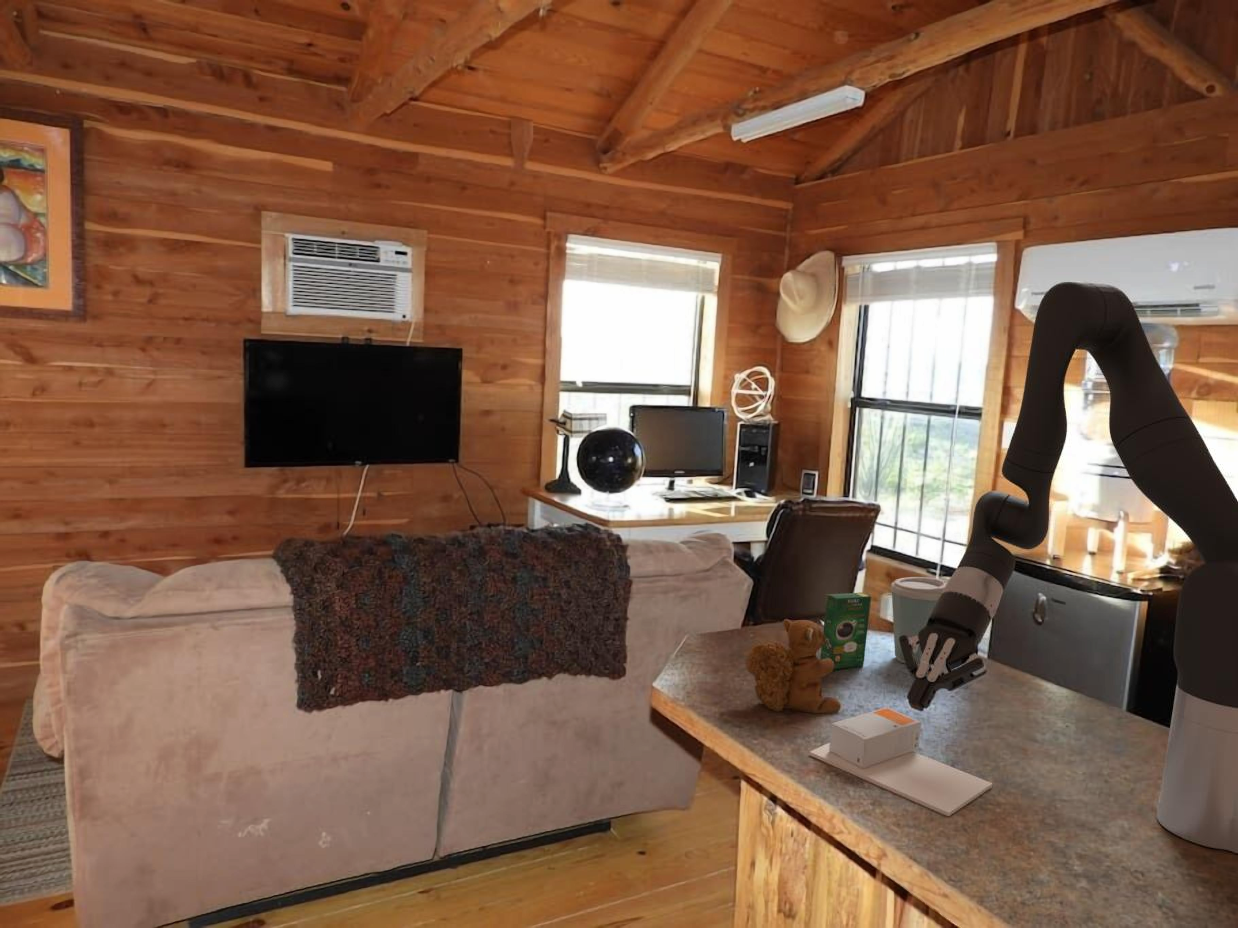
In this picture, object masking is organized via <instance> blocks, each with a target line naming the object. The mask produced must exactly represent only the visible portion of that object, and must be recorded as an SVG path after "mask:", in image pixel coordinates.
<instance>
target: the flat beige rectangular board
mask: <svg viewBox="0 0 1238 928" xmlns="http://www.w3.org/2000/svg"><path fill="white" fill-rule="evenodd" d="M829 746H830V742H827V743H825V744H823V745H821V746H819V747H817V748H815V749H812V750H811V751H809V756H810V757H813V758H814V759H818V760H820V761H822V762H824V763H827V764H828V765H830V766H834V767H835V768H838V769H839V770H842V771H845V772H847V773H848V774H851V775H854V776H855V777H858V778H860V779H863V780H864V781H867V782H869V783H872V784H874V785H876V786H878V787H880V788H883V789H886V790H888V791H889V792H892V793H894V794H896V795H899V796H901V797H903V798H906V799H908V800H910V801H912V802H915V803H917V804H919V805H922V806H923V807H926V808H928V809H930V810H932V811H935V812H936V813H940V814H942V815H944V816H946V817H950V816H951V815H953V814H955V813H956V812H957V811H959V810H961V809H962V808H963V807H965V806H966V805H968V804H969V803H971V802H972V801H974V800H975V799H977V798H978V797H980V796H981V795H983V794H984V793H986V792H987V791H989V790H990V789H992V788H993V783H992V782H990V781H987V780H985V779H983V778H980V777H979V776H975V775H973V774H970V773H967V772H965V771H962V770H959V769H957V768H954V767H953V766H949V765H947V764H946V763H942V762H940V761H938V760H935V759H933V758H930V757H927V756H926V755H923V754H921V753H917V752H915V751H913V752H910V753H907V754H904V755H901V756H898V757H895V758H892V759H889V760H886V761H884V762H881V763H878V764H875V765H872V766H869V767H866V768H861V767H859V766H857V765H855V764H853V763H851V762H849V761H846V760H844V759H843V758H841V757H840V756H838V755H836V754H834V753H832V752H830V751H829Z"/></svg>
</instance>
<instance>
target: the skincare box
mask: <svg viewBox="0 0 1238 928" xmlns="http://www.w3.org/2000/svg"><path fill="white" fill-rule="evenodd" d="M921 727H922V722H921V721H919V720H918V719H915V718H912V717H911V716H908V715H906V714H903V713H901V712H898V711H897V710H895V709H893V708H890V707H888V706H887V707H884V708H880V709H876V710H873V711H870V712H866V713H862V714H858V715H856V716H852V717H848V718H846V719H842V720H839V721H836V722H835V721H834V722H832V723H831V728H830V737H829V738H830V739H829V743H830V746H829V751H830V752H832V753H834V754H836V755H838V756H840V757H841V758H843V759H844V760H846V761H849V762H851V763H853V764H855V765H857V766H859V767H861V768H866V767H869V766H872V765H875V764H878V763H881V762H884V761H886V760H889V759H892V758H895V757H898V756H901V755H904V754H907V753H910V752H915V751H919V750H920V749H919V747H920V740H921V739H920V737H921V729H922V728H921Z"/></svg>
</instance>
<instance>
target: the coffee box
mask: <svg viewBox="0 0 1238 928" xmlns="http://www.w3.org/2000/svg"><path fill="white" fill-rule="evenodd" d="M826 595H827V596H826V602H825V603H826V604H825V612H824V613H825V614H824V622H823V628H822V630H823V632H824V636H825V637H826V638H827V639H828V641H829V643H830V645H831V647H829V644H828V641H827V640H826V641H827V644H828V647H829V649H827V645H826V643H825V640H824V644H823V645H822V647H821V648H820V657H819V660H823V659H826V658H830V659H831V660H832V661H833V662H834V668H833V670H834V671H835V670H839V669H841V670H842V669H849V668H858V667H864V662H865V656H866V655H865V653H866V644H867V643H866V642H867V635H868V626H869V618H870V611H871V601H872V595H869V594H867V593H864V592H851V593H850V592H849V593H848V592H847V593H831V594H830V593H829V594H826Z"/></svg>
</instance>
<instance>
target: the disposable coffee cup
mask: <svg viewBox="0 0 1238 928" xmlns="http://www.w3.org/2000/svg"><path fill="white" fill-rule="evenodd" d="M947 582H948V581H946V580H942V579H941V578H934V577H923V576H910V577H901V578H900V577H899V578H898V579H895V580H894V581H892V582H891V585H890V592H891V600H892V602H891V603H892V621H893V623H892V624H893V641H894V656H895V660H897V661H898V662H900V663H902V664H905V660H904V656H903V653H902V649H901V645H900V641H899V638H900V636H902V635H905V636H907V638H910V637H913V636H917V635H918V633H919V631H920V630H921V629H923V628H924V627H925V626H926V625H927V622H928V619H929V616H930V614H931V613H932V611H933V609H934V607H935V605H936V603H937V601H938V599H939V597H940V595H941V594H942V592H943V590H944V588H945V586H946V584H947ZM914 656H915V659H916V663H917V666H918V667H919V666H920V663H921V657H922V652H921V647H920V644H919V645H918V650H917V652H916V653H914Z"/></svg>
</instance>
